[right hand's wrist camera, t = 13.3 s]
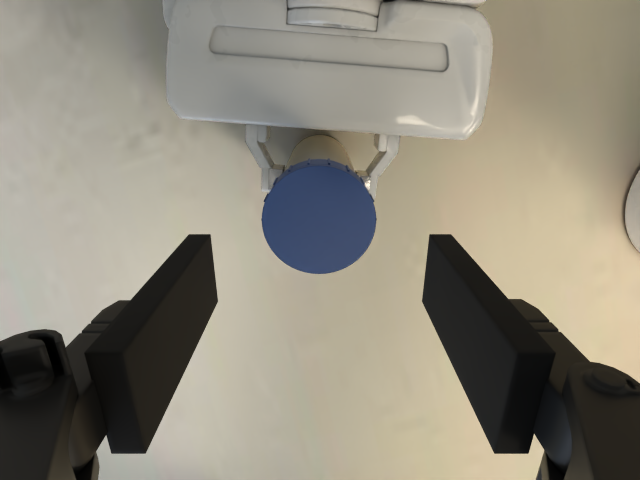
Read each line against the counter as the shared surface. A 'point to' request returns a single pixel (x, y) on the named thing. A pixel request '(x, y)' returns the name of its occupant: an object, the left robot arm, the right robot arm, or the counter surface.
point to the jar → (319, 151)
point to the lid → (319, 216)
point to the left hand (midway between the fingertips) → (319, 194)
